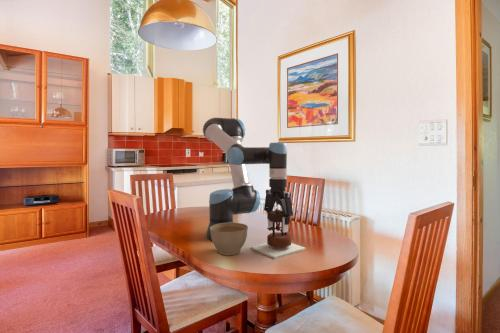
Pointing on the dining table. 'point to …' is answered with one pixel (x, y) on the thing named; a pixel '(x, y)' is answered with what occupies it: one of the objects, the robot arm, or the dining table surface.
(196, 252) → the dining table surface
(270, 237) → the music box
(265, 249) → the board
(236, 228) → the planter bowl
